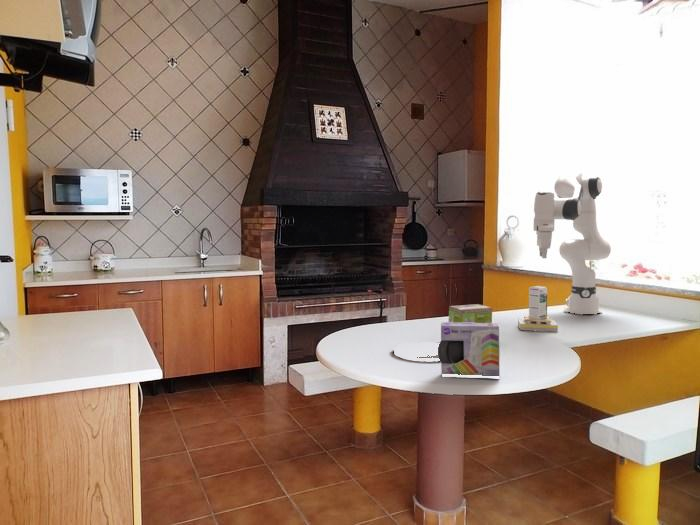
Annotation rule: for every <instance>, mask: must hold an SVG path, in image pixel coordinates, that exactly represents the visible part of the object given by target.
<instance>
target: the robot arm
mask: <svg viewBox="0 0 700 525" xmlns="http://www.w3.org/2000/svg"><path fill="white" fill-rule="evenodd" d="M554 183H555V184H554V191H552V190H540V191H538V192H536V194H535V197H534V204H533V212H534V217H533V231H534V232H535V233H536V235H537V236H536V245H537V246H538V250H539V257H541V258H542V259H547V254H548V249H550V248H551V245H552V237H553V232H554V231H555V220H567V221H572V222H573V223H572V224H573V229H574V230H575V231H576V232H578V233H580V235H582V236H583V239H568V240H564V241H562V242H561V244H560V245H559V250H558V251H559V254H560V256H561V258H562V259H563V260H565V261H566V262H567V263H568V264H569V266H570V269H571V274H572V275H571V276H572V282H571V283H572V285H571V286H570V287H571V288H570V290H571V291H570V295H569V296H568V298H565V303H566V306H564V309H563V312H564V313H568V312H570V313H569V314H574V313H575V315H583V314H594V315H598V314H597V313H600V314H603V311H602V310H600V299H599V297H598V295H596V293H597V286H596V276H597V273H596V271H595V270H594V269H593V268H591V267H589V266H587V263H586V261H600V260H604V259H607V258H608V257H609V256H610V254H611V251H612V250H611V245H610V243H609V242H608V241H607V240H606V239H604V238H603V236H602V235H601V234H600V232H599V229H598V225H597V207H596V200H597V197H599V195H600V194H601V192H602V189H603V184H602V180H601V178H600V177H599V176H597V175H590V176H583V174H582V172H581V171H580V170H579V169H577V168H568V169H567V170H565V171H564V172H562V173H561V174H560V176H559V177H558V178H557V180H556V181H555V182H554ZM555 194H556V195H557V197H558V198H557V197H555Z"/></svg>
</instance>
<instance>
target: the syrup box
mask: <svg viewBox="0 0 700 525" xmlns="http://www.w3.org/2000/svg"><path fill="white" fill-rule="evenodd" d="M528 316H529V318H533V319H538V320H539V319H544V318H547V317H548V287H547V286H542V285H536V286H530V287H529V288H528Z"/></svg>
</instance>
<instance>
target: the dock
mask: <svg viewBox="0 0 700 525" xmlns="http://www.w3.org/2000/svg"><path fill="white" fill-rule="evenodd" d="M551 320H552V322H550V324H546V323H545V322H540V324H536V322H531V324H527V323H526V321H525V319H524V318H518V319H517V326H518V325H519V326H518V328H520V329H521V330H536V331H535V332H545V331H554V332H553V333H558V331H559V325H558V323H557V322H556V321H555V319H551ZM520 329H519V330H520ZM521 330H520V331H521Z"/></svg>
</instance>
